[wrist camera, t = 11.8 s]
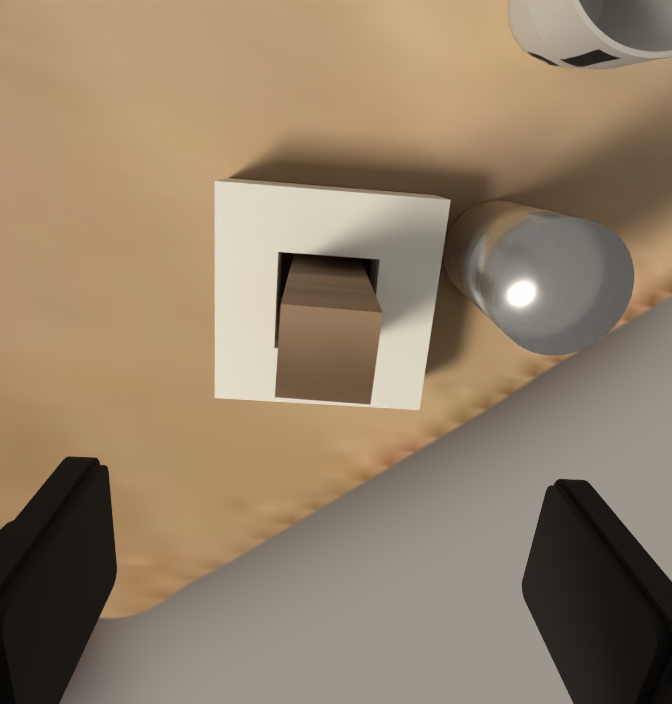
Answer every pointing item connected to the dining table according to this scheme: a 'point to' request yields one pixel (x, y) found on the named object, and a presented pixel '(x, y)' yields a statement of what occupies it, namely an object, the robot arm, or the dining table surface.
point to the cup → (592, 31)
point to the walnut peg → (327, 331)
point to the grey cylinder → (540, 274)
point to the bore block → (332, 240)
